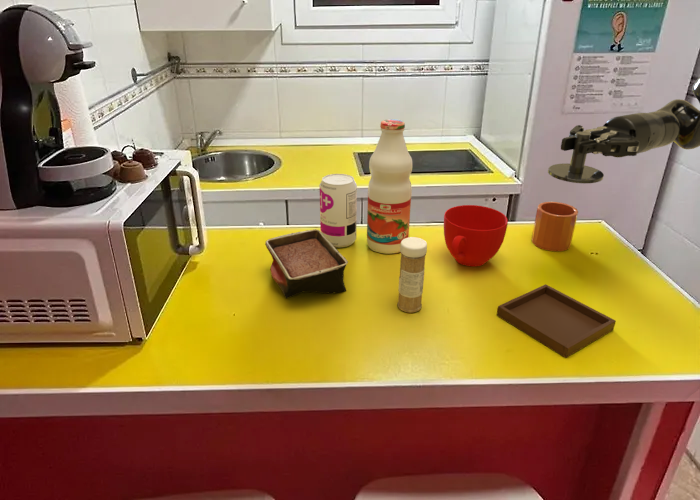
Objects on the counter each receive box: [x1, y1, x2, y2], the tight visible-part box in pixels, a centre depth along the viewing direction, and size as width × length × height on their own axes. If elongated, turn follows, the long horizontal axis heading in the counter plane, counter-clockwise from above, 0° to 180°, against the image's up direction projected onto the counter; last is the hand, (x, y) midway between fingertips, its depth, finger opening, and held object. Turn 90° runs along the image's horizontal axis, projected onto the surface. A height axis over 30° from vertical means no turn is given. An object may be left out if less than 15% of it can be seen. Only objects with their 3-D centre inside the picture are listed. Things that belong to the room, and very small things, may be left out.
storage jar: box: [531, 201, 579, 252], centre depth 117 cm, size 8×8×8 cm
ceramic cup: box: [443, 204, 509, 267], centre depth 108 cm, size 13×17×10 cm
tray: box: [496, 284, 617, 359], centre depth 91 cm, size 14×13×2 cm
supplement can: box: [318, 173, 358, 249], centre depth 116 cm, size 8×8×15 cm
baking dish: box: [264, 228, 349, 299], centre depth 102 cm, size 14×18×10 cm
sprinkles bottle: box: [397, 236, 428, 314], centre depth 93 cm, size 5×5×13 cm
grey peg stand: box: [547, 132, 605, 184], centre depth 93 cm, size 9×9×8 cm
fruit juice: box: [366, 118, 413, 255], centre depth 111 cm, size 9×9×28 cm
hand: (570, 146), depth 91 cm, fingers closed on grey peg stand, 2 cm apart
